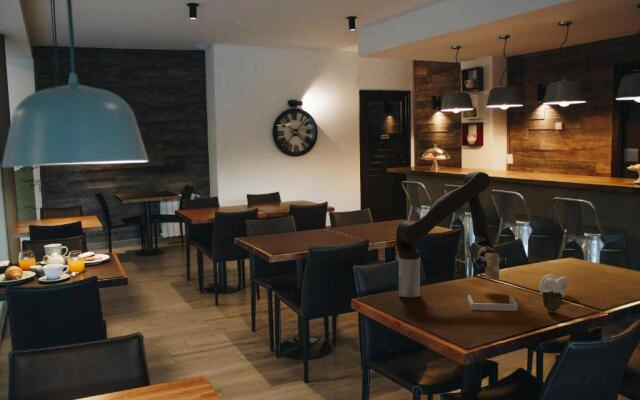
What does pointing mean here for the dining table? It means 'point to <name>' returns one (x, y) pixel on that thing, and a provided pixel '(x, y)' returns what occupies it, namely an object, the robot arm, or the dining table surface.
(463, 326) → the dining table surface
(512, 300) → the tray
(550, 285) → the white lumpy cloud shape
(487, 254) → the maple block
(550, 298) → the cup
